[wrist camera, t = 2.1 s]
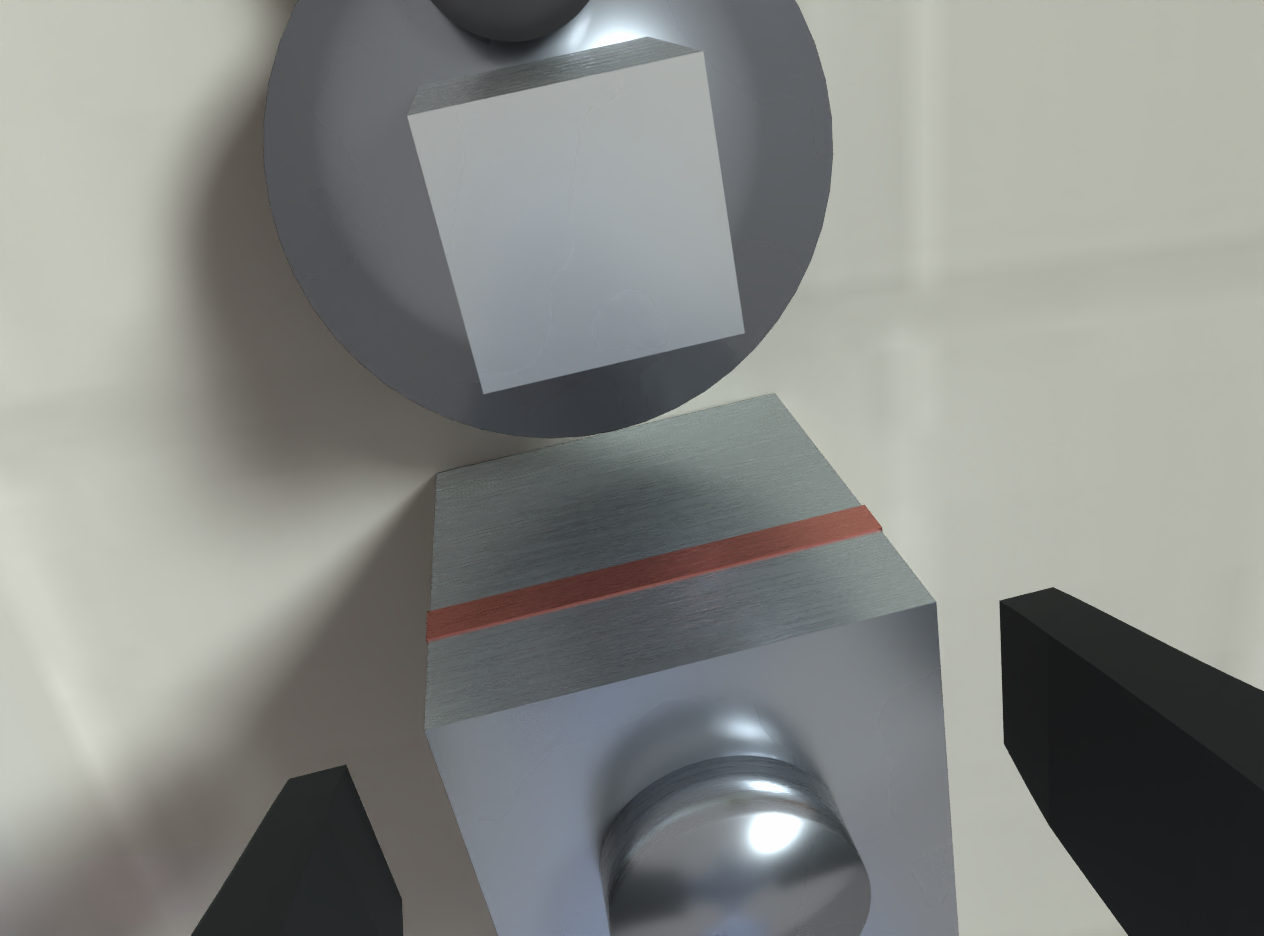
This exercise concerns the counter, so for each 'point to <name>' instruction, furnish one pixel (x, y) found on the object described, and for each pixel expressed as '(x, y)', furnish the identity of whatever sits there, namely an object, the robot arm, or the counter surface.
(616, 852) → the striped cube with knob
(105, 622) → the counter surface
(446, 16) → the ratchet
